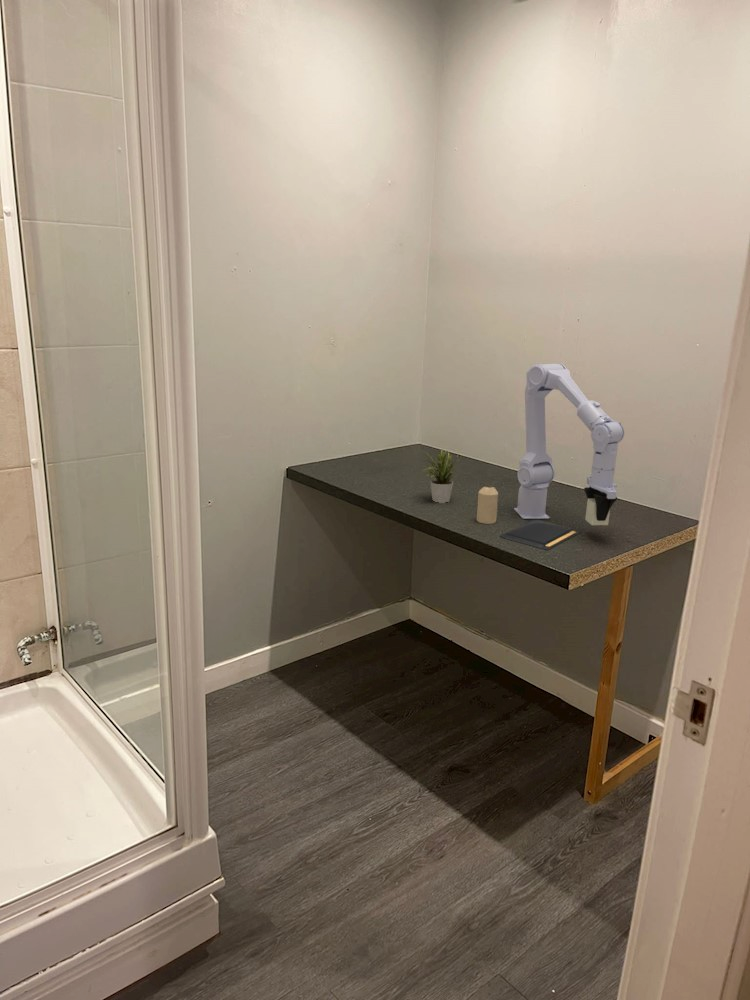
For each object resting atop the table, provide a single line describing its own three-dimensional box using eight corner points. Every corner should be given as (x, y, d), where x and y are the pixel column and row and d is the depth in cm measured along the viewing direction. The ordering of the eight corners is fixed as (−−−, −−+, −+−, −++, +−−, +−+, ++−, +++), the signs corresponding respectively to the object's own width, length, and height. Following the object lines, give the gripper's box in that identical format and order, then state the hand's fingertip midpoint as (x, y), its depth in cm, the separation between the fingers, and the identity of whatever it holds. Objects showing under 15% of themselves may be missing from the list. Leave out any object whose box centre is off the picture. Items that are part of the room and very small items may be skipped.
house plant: (413, 493, 229) (415, 443, 224) (456, 493, 230) (459, 443, 225) (419, 506, 215) (421, 453, 211) (464, 506, 216) (468, 454, 212)
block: (585, 519, 193) (587, 498, 191) (601, 519, 193) (604, 498, 191) (591, 525, 188) (594, 503, 187) (608, 525, 189) (610, 503, 187)
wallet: (534, 516, 205) (584, 528, 195) (534, 522, 206) (583, 535, 196) (496, 532, 191) (547, 546, 181) (495, 538, 191) (546, 553, 182)
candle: (494, 518, 206) (496, 484, 204) (497, 524, 201) (500, 490, 198) (475, 517, 206) (477, 484, 203) (478, 524, 201) (480, 489, 198)
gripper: (630, 474, 180) (623, 526, 184) (606, 461, 194) (600, 508, 198) (603, 474, 179) (596, 526, 183) (581, 461, 193) (576, 508, 197)
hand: (597, 517), depth 190 cm, fingers closed on block, 4 cm apart
